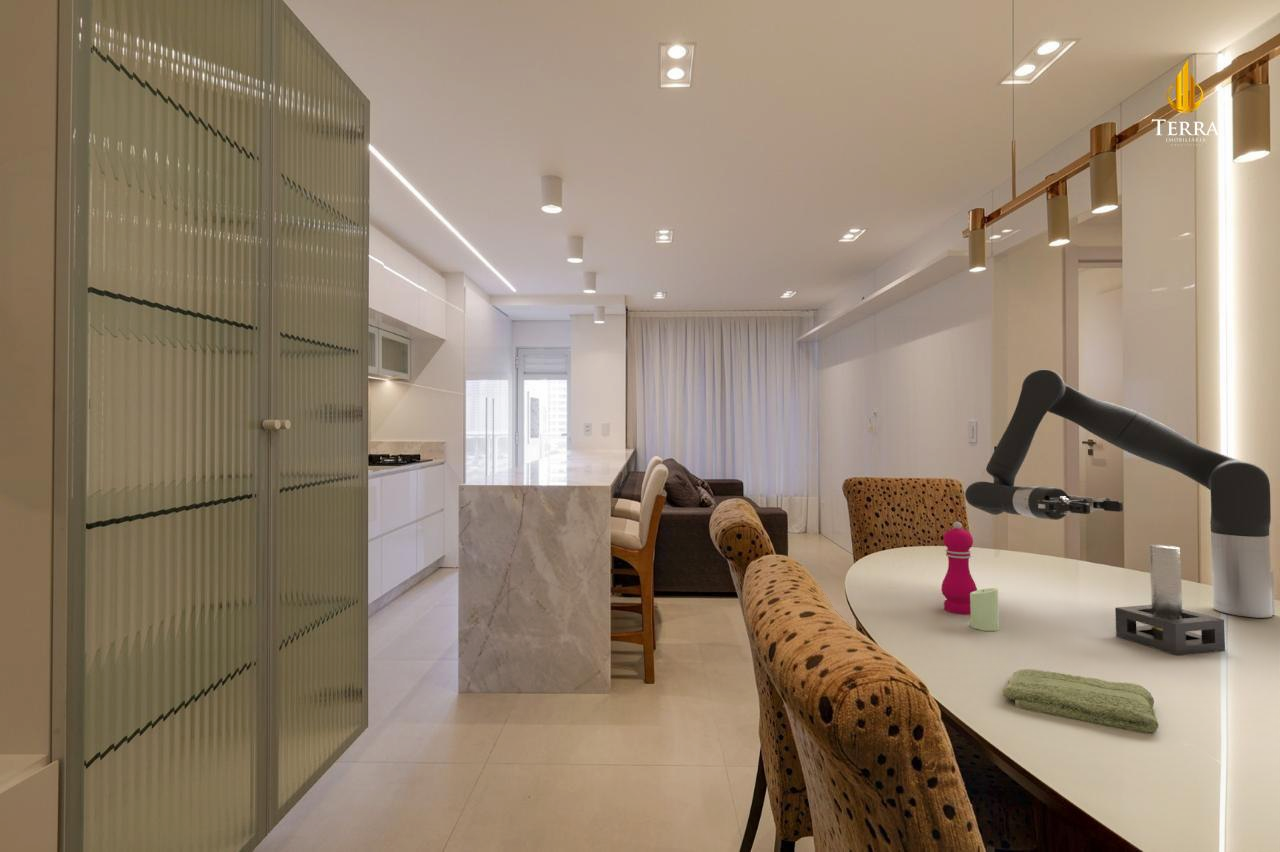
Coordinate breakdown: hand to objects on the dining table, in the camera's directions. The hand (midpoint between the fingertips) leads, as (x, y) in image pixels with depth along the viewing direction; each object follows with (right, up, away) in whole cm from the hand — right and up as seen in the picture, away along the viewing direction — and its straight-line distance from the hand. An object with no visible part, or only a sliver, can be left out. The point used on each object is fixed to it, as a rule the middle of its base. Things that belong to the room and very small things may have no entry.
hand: (1105, 507), depth 129 cm
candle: (-28, -24, -5) cm, 38 cm away
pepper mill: (-27, -24, +8) cm, 37 cm away
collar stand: (0, -23, -15) cm, 28 cm away
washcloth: (-35, -24, -41) cm, 59 cm away
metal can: (0, -23, -15) cm, 28 cm away
